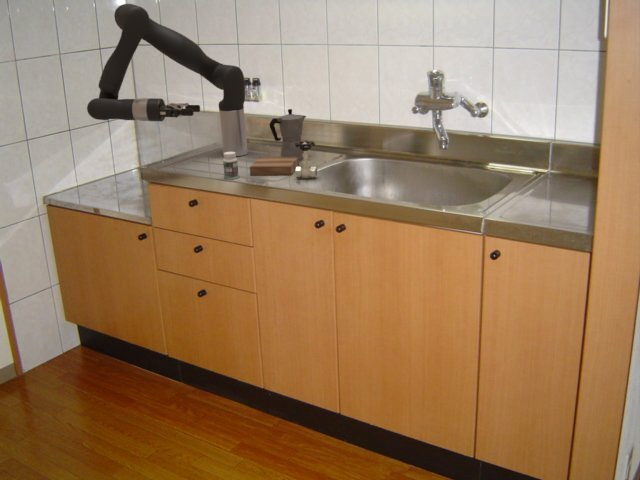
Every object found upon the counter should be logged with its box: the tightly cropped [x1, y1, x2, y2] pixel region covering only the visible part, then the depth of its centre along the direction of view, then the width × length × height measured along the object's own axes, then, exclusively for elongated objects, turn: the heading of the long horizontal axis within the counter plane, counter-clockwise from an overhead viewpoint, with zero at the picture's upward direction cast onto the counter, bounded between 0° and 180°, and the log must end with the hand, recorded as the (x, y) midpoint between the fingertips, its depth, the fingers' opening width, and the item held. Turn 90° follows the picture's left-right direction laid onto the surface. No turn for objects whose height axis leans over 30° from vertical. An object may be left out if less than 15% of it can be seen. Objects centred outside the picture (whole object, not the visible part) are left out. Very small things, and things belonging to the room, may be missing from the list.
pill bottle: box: [222, 152, 240, 180], centre depth 245 cm, size 5×5×8 cm
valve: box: [294, 140, 318, 180], centre depth 238 cm, size 7×7×12 cm
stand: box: [249, 156, 300, 177], centre depth 252 cm, size 14×14×3 cm
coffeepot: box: [268, 108, 307, 161], centre depth 265 cm, size 15×9×18 cm, turn 125°
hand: (196, 110), depth 242 cm, fingers open, 8 cm apart
